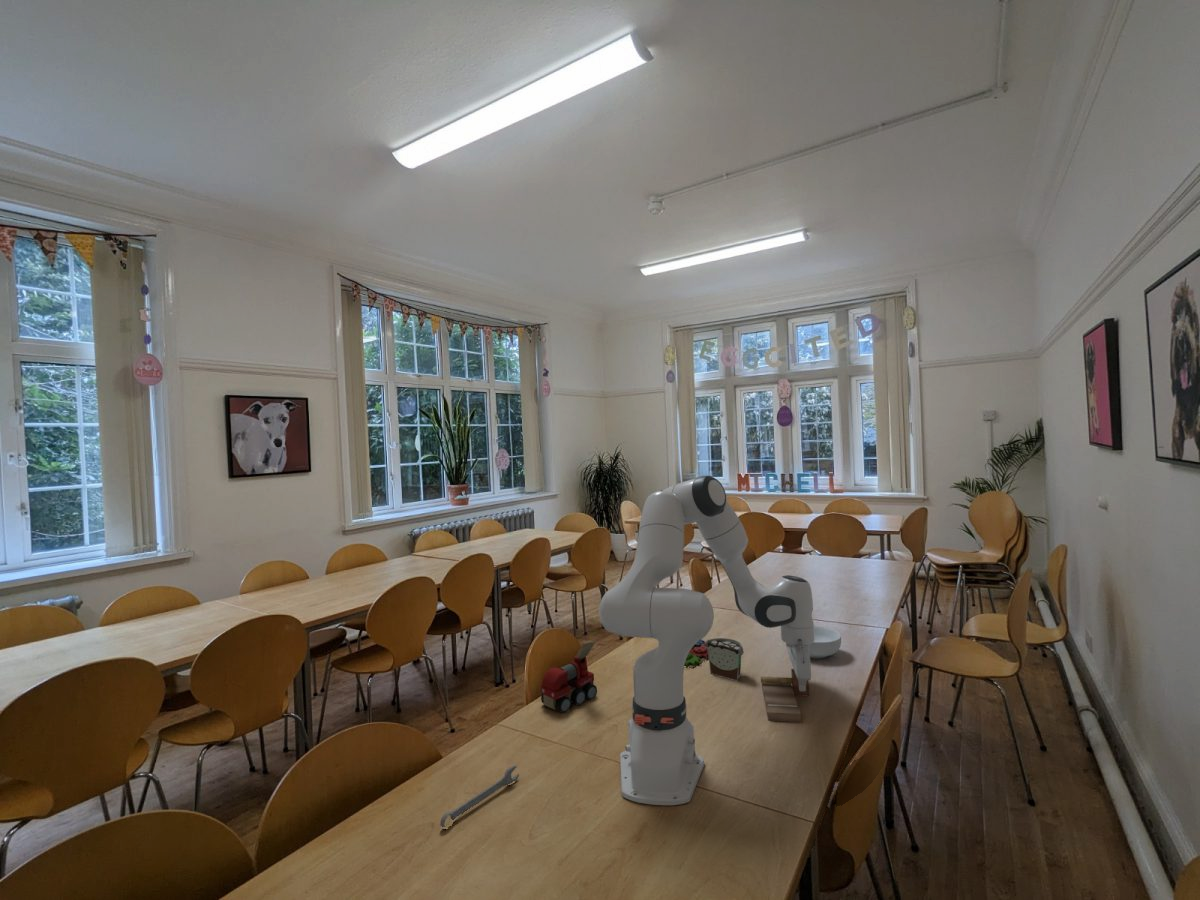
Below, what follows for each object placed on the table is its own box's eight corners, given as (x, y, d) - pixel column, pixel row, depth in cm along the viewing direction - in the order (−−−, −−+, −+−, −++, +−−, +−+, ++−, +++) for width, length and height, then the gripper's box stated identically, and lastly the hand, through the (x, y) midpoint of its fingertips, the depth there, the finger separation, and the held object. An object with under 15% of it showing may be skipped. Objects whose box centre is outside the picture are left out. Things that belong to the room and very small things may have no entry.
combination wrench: (442, 816, 104) (521, 764, 119) (438, 814, 105) (516, 762, 120) (443, 836, 104) (522, 781, 120) (439, 833, 105) (517, 779, 120)
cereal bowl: (826, 668, 171) (825, 645, 171) (778, 655, 183) (777, 633, 183) (851, 653, 182) (850, 631, 182) (804, 641, 195) (803, 621, 195)
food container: (752, 675, 168) (750, 642, 168) (742, 682, 163) (740, 648, 163) (716, 666, 176) (715, 634, 176) (706, 672, 172) (705, 640, 172)
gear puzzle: (676, 680, 168) (676, 667, 168) (635, 668, 179) (634, 655, 179) (727, 650, 191) (727, 638, 191) (688, 640, 202) (687, 629, 202)
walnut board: (801, 722, 139) (800, 713, 139) (768, 720, 141) (767, 712, 141) (790, 687, 159) (790, 680, 159) (761, 686, 160) (761, 679, 160)
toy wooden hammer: (809, 696, 153) (808, 674, 153) (761, 693, 156) (760, 672, 156) (807, 690, 156) (806, 669, 156) (760, 688, 159) (759, 667, 159)
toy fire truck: (538, 707, 154) (535, 643, 154) (580, 688, 165) (577, 629, 165) (565, 720, 146) (562, 653, 146) (607, 699, 157) (604, 637, 157)
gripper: (816, 647, 144) (818, 700, 145) (803, 622, 165) (805, 668, 165) (790, 647, 146) (793, 699, 146) (781, 622, 166) (783, 668, 166)
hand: (799, 682), depth 155 cm, fingers open, 8 cm apart
